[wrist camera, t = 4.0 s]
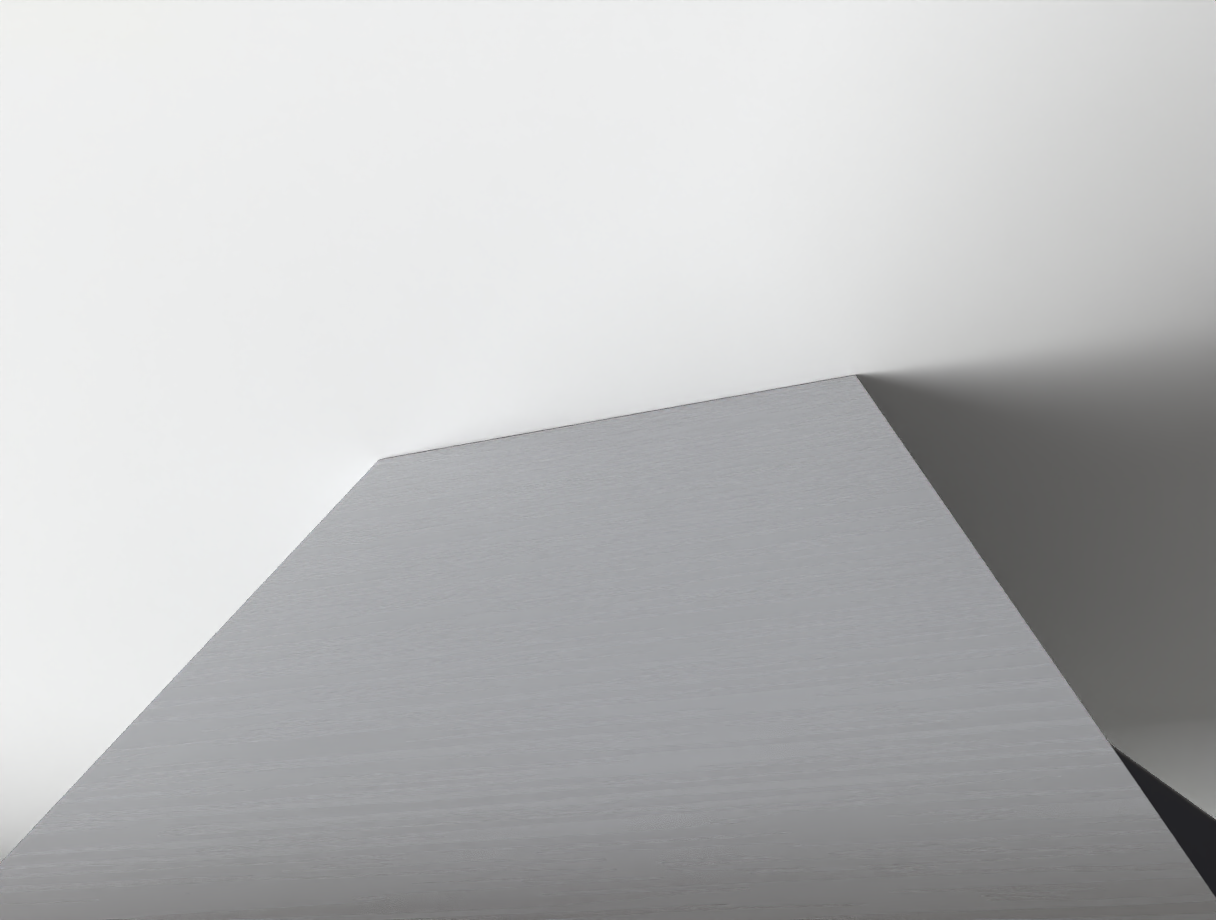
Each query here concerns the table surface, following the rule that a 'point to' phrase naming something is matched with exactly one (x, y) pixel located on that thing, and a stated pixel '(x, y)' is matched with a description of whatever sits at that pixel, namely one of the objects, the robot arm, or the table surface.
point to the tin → (621, 705)
